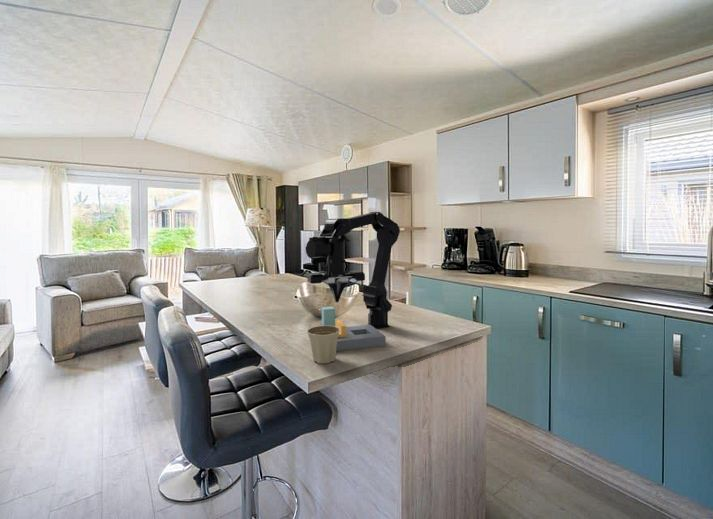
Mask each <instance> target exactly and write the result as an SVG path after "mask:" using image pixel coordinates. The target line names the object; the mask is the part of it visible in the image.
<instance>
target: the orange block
mask: <svg viewBox="0 0 713 519" xmlns="http://www.w3.org/2000/svg"><path fill="white" fill-rule="evenodd" d="M335 327H338V328H340V332H339V336H338V338H339V337H346V327H347V325H346V324H345V323H343V321H342V320H341V319H335Z"/></svg>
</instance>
